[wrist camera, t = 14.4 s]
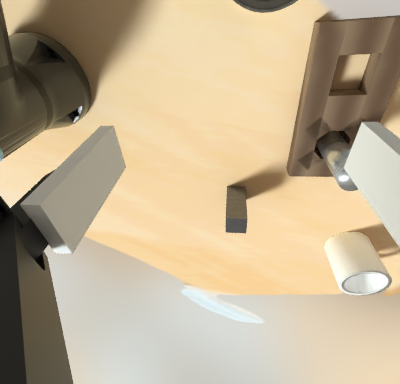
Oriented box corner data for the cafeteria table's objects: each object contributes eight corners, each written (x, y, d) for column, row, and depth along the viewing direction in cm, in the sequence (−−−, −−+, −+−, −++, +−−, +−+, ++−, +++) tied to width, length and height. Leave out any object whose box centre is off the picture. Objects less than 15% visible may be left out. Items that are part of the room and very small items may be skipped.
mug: (386, 249, 58) (411, 289, 50) (349, 266, 64) (366, 305, 56) (351, 225, 55) (371, 264, 46) (315, 246, 61) (328, 283, 52)
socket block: (286, 167, 47) (289, 176, 45) (314, 21, 32) (320, 23, 30) (350, 168, 45) (356, 176, 43) (410, 14, 31) (424, 15, 28)
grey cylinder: (312, 148, 44) (335, 190, 34) (317, 127, 41) (343, 167, 31) (334, 147, 43) (364, 191, 33) (341, 127, 41) (376, 167, 31)
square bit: (227, 199, 54) (225, 232, 47) (227, 186, 52) (225, 218, 44) (244, 200, 54) (246, 233, 46) (245, 186, 51) (247, 218, 44)
